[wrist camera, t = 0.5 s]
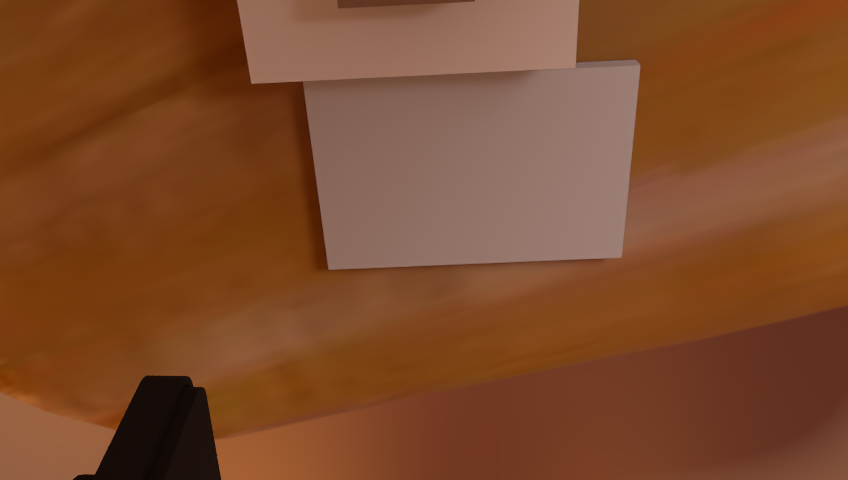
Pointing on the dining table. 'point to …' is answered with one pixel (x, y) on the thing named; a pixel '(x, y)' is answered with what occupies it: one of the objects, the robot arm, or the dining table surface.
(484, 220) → the mat
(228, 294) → the dining table surface
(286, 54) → the deck
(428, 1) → the tile
